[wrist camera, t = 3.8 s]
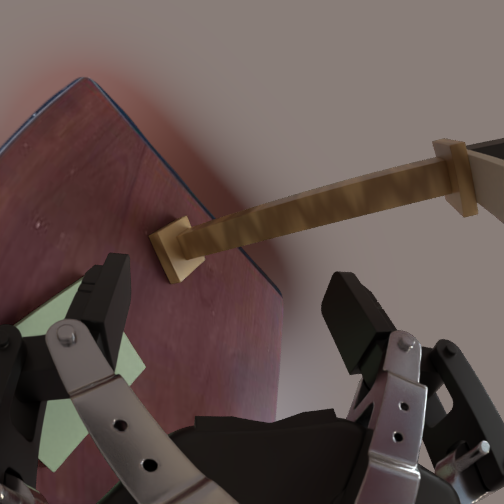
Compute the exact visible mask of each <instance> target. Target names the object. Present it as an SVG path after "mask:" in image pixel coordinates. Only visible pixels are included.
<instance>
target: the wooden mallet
mask: <svg viewBox="0 0 504 504" xmlns="http://www.w3.org/2000/svg"><path fill="white" fill-rule="evenodd" d="M466 149H467V153H468V158H469V162H470V167H471V172H472V177H473V182H474V188H475V194H476V201H477V203H479V204H480V205H481V206H483V207H484V208H485V209H486V210H488V211H489V212H490V213H491V214H493V215H494V216H495V217H496V218H498V219H499V220H500V221H501V222H502V223H504V138H502V139H497V140H492V141H487V142H482V143H477V144H473V145H467V146H466Z"/></svg>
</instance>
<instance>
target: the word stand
mask: <svg viewBox="0 0 504 504" xmlns="http://www.w3.org/2000/svg"><path fill="white" fill-rule="evenodd" d="M432 143H433V147H434V150H435V154H436V157H435V158H430V159H426V160H422V161H418V162H413V163H409V164H405V165H401V166H397V167H393V168H389V169H386V170H382V171H378V172H374V173H370V174H366V175H363V176H359V177H355V178H351V179H348V180H344V181H341V182H337V183H334V184H330V185H326V186H323V187H319V188H316V189H312V190H309V191H305V192H302V193H299V194H295V195H292V196H288V197H285V198H282V199H278V200H275V201H272V202H268V203H265V204H262V205H259V206H256V207H252V208H249V209H246V210H243V211H240V212H237V213H234V214H231V215H227V216H224V217H221V218H218V219H215V220H212V221H209V222H206V223H203V224H200V225H197V226H194V227H191V225H190V223H189V220H188V218H187V216H184V217H181V218H178V219H176V220H175V221H173V222H171V223H169V224H168V225H166V226H164V227H162V228H161V229H159V230H157V231H156V232H154V233H152V234H151V235H149V238H150V241H151V243H152V245H153V247H154V249H155V252H156V254H157V256H158V258H159V260H160V262H161V264H162V267H163V269H164V271H165V273H166V275H167V277H168V279H169V281H170V283H171V284H174V283H179V282H181V281H182V280H183V279H184V278H186V277H187V276H188V275H189V274H190V273H191V272H192V271H193V270H194V269H195V268H197V267H198V266H199V265H200V264H201V263H202V262H203V261H204V260H205V257H204V256H206V255H209V254H213V253H217V252H221V251H225V250H229V249H232V248H236V247H240V246H244V245H248V244H252V243H256V242H260V241H264V240H267V239H271V238H275V237H279V236H283V235H287V234H291V233H295V232H299V231H302V230H307V229H311V228H315V227H318V226H323V225H327V224H331V223H335V222H339V221H343V220H347V219H351V218H354V217H359V216H362V215H367V214H371V213H375V212H379V211H383V210H386V209H391V208H395V207H399V206H403V205H407V204H411V203H415V202H420V201H423V200H427V199H432V198H436V197H440V196H444V195H445V199H446V201H447V202H448V203H450V204H451V205H452V206H453V207H454V208H455V209H456V210H457V211H458V212H459V213H460V214H461V215H462V216H463V217H468V216H473V215H476V214H478V208H477V201H476V194H475V188H474V182H473V177H472V172H471V167H470V162H469V158H468V153H467V149H466V145H465V142H462V141H456V140H450V139H445V138H444V139H440V140H436V141H433V142H432Z"/></svg>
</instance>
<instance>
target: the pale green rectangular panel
mask: <svg viewBox="0 0 504 504" xmlns="http://www.w3.org/2000/svg"><path fill="white" fill-rule="evenodd" d="M83 277H84V276H83ZM83 277H82V278H80V279H79V280H77V281H76V282H74V283H73V284H71V285H70V286H68V287H67V288H66V289H64V290H63V291H61V292H60V293H58V294H57V295H55V296H54V297H52V298H51V299H50V300H48V301H47V302H45V303H44V304H42V305H41V306H40V307H38V308H37V309H35V310H34V311H33V312H31V313H30V314H29V315H27V316H26V317H24V318H23V319H22V320H20V321H19V322H18V323H16V324H15V325H14V326H15V327H16V328H18V329H19V331H20V333H21V335H22V337H27V336H38V335H44V334H46V332H47V330H48V329H49V328H50V326H51V325H53V324H54V323H56V322H57V321H60V320H63V319H64V318H65V316H66V313H67V311H68V309H69V307H70V305H71V302H72V300H73V298H74V296H75V294H76V292H77V291H78V287H79V285H80V284H81V281H82V279H83ZM145 368H146V366H145V365H144V363H143V362H142V360H141V359H140V357H139V356H138V354H137V353H136V351H135V349H134V348H133V346H132V345H131V343H130V341H129V340H128V338H127V337H126V335H125V333H124V332H123V336H122V340H121V345H120V350H119V354H118V359H117V364H116V369H115V372H114V373H115V374H116V375H117V374H120V375H121V376H122V377H123V378H124V379H125V381H126V382H127V383H128V385H129V386H130V385H131V384H132V382H133V381H134V380H135V379H136V378H137V377H138V376H139V375H140V373H141V372H142V371H143V370H144V369H145ZM88 433H89V432H88V431H87V429H86V427H85V426H84V424H83V422H82V420H81V418H80V417H79V415H78V413H77V411H76V409H75V407H74V405H73V403H72V401H71V399H61V400H50V401H47V406H46V411H45V416H44V422H43V428H42V434H41V441H40V448H39V456H38V459H40V460H41V461H42V462H43V463H44V464H45V465H46V466H47V467H48V468H49V469H50V470H51V471H53V472H55V471H56V470H57V468H58V467H59V466H60V465H61V464H62V463H63V462H64V460H65V459H66V458H67V457H68V456H69V455H70V454H71V452H72V451H73V450H74V449H75V448H76V447H77V445H78V444H79V443H80V442H81V441H82V440H83V439H84V437H85V436H86V435H87V434H88Z"/></svg>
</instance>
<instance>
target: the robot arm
mask: <svg viewBox="0 0 504 504" xmlns="http://www.w3.org/2000/svg"><path fill="white" fill-rule="evenodd" d="M130 301H131V276H130V257H129V254H119V253H109V254H108V256H107V258H106V260H105V262H104V265H103V266H102V265H94V266H93V267H92V268H91V269H89V270H88V271H87V272H86V273H85V275H84V277H83V279H82V281H81V284H80V285H79V287H78V291H77V292H76V294H75V296H74V298H73V300H72V302H71V305H70V307H69V309H68V311H67V313H66V316H65V318H64V319H63V320H60V321H57V322H56V323H54V324H53V325H51V326H50V328H49V329H48V330H47V332H46V334H44V335H38V336H27V337H22V335H21V333H20V331H19V329H18V328H16V327H15V326H13V325H9V324H4V325H0V504H48V502H47V500H46V499H45V497H44V496H43V495H42V494H41V493H40V492H38V491H37V490H36V476H37V465H38V456H39V448H40V441H41V434H42V428H43V422H44V416H45V411H46V406H47V401H50V400H61V399H71V401H72V403H73V405H74V407H75V409H76V411H77V413H78V415H79V417H80V418H81V420H82V422H83V424H84V426H85V427H86V429H87V431H88V432H89V434H90V436H91V437H92V439H93V441H94V442H95V444H96V446H97V447H98V449H99V450H100V452H101V454H102V455H103V457H104V458H105V460H106V461H107V463H108V464H109V466H110V467H111V468H112V470H113V471H114V473H115V474H116V475H117V477H118V478H119V480H120V481H119V482H118V483H117V484H116V485H115V486H114V487H113V488H112V489H111V490H110V491H109V492H108V493H107V494H106V495H105V496H104V497H103V498H102V499H101V500H100V501H99V502H97V503H96V504H474V503H476V502H478V501H480V500H482V499H484V498H485V497H487V496H489V495H491V494H493V493H494V492H496V491H498V490H499V489H501V488H502V487H504V423H503V421H502V419H501V417H500V415H499V413H498V411H497V410H496V408H495V406H494V404H493V402H492V401H491V399H490V397H489V395H488V394H487V392H486V390H485V389H484V387H483V385H482V383H481V382H480V380H479V379H478V377H477V375H476V374H475V372H474V371H473V369H472V367H471V366H470V364H469V363H468V361H467V359H466V358H465V356H464V355H463V353H462V352H461V350H460V349H459V348H458V347H457V346H456V345H455V344H454V343H453V342H451V341H449V340H445V339H441V340H439V341H438V342H437V343H436V345H435V346H434V348H427V347H421V345H420V343H419V341H418V340H417V339H416V338H415V337H414V336H413V335H411V334H410V333H408V332H405V331H401V330H397V329H396V328H395V326H394V325H393V323H392V322H391V320H390V319H389V317H388V316H387V314H386V313H385V311H384V310H383V309H382V307H381V305H380V304H379V302H377V300H376V298H375V297H374V295H373V294H372V292H371V291H369V290H368V289H367V288H366V287H365V286H363V285H362V284H361V283H360V281H359V280H358V278H357V277H356V276H355V274H354V273H352V272H335V273H334V274H333V275H332V278H331V280H330V283H329V285H328V288H327V290H326V293H325V295H324V298H323V301H322V305H321V311H322V315H323V317H324V320H325V322H326V324H327V326H328V328H329V330H330V333H331V335H332V337H333V339H334V341H335V344H336V346H337V348H338V350H339V352H340V354H341V357H342V359H343V361H344V363H345V365H346V368H347V370H348V372H349V374H350V375H353V374H362V376H363V377H362V379H361V380H360V381H359V384H358V387H357V390H356V393H355V396H354V399H353V402H352V405H351V407H350V410H349V413H348V415H347V417H346V419H342V418H337V417H336V414H335V412H334V409H325V410H318V411H309V412H302V413H300V414H297V415H294V416H291V417H288V418H285V419H282V420H279V421H276V422H273V423H266V422H259V421H253V420H248V419H242V418H237V417H232V416H230V417H212V416H195V423H194V426H189V427H185V428H182V429H179V430H177V431H174V432H172V433H170V434H168V435H167V434H166V433H165V432H164V431H163V429H162V428H161V427H160V426H159V425H158V423H157V422H156V421H155V420H154V418H153V417H152V416H151V415H150V413H149V412H148V411H147V409H146V408H145V407H144V405H143V404H142V403H141V402H140V400H139V399H138V397H137V396H136V395H135V393H134V392H133V391H132V389H131V388H130V386H129V385H128V383H127V382H126V381H125V379H124V378H123V377H122V376H121V375H120V374H117V375H116V374H115V373H114V372H115V369H116V364H117V359H118V354H119V350H120V345H121V340H122V336H123V331H124V327H125V323H126V318H127V314H128V310H129V306H130ZM443 384H445V386H446V388H447V390H448V391H449V393H450V395H451V397H452V399H453V408H452V410H451V411H450V412H449V413H448V414H446V412H445V410H444V408H443V406H442V404H441V402H440V400H439V398H438V396H437V394H436V391H437V390H438V389H439V388H440V387H441V386H442V385H443ZM422 439H423V442H424V444H425V446H426V449H427V452H428V454H429V457H430V459H431V462H432V464H433V467H434V469H435V474H434V473H433V472H431V471H429V470H428V469H426V468H425V467H423V466H421V465H420V464H418V458H419V452H420V447H421V440H422Z"/></svg>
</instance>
